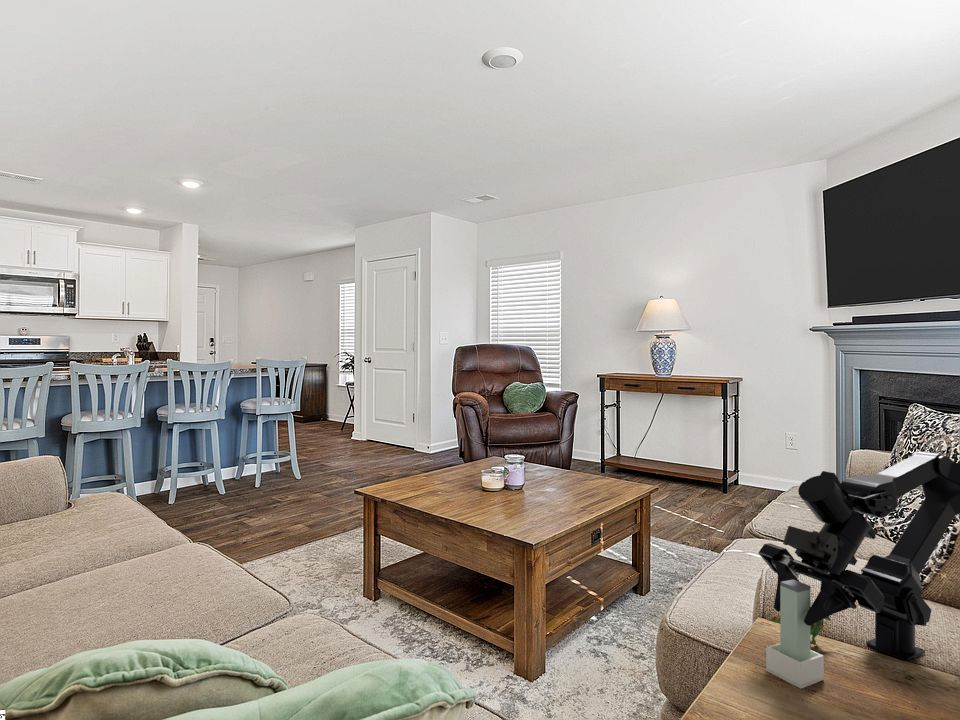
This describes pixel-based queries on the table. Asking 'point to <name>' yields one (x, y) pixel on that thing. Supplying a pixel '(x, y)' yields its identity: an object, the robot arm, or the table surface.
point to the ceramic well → (795, 667)
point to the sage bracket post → (794, 620)
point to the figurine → (813, 628)
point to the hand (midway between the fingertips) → (790, 616)
